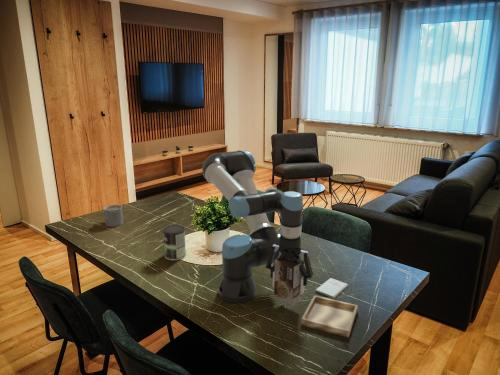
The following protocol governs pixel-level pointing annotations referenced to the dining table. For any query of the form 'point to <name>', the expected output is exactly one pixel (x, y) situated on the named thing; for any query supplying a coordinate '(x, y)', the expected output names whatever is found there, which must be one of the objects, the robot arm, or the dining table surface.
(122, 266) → the dining table surface
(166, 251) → the coffee can
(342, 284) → the external hard drive
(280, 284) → the coffee box
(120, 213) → the coffee mug
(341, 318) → the holder
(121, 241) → the dining table surface
